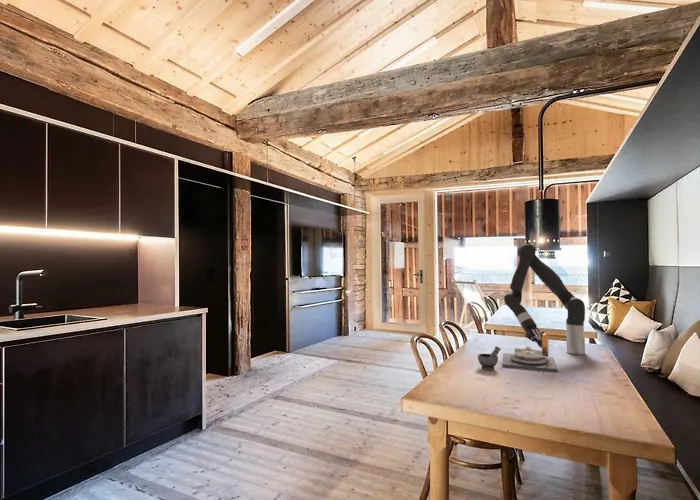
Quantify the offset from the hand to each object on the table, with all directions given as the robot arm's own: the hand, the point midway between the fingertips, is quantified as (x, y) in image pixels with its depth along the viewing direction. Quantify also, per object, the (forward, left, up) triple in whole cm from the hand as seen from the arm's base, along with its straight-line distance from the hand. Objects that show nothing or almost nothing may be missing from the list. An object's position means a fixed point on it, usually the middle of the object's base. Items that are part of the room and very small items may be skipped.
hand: (542, 346), depth 219 cm
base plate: (+8, +10, -7) cm, 15 cm away
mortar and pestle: (+27, +30, -8) cm, 41 cm away
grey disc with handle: (+5, +8, -4) cm, 10 cm away
